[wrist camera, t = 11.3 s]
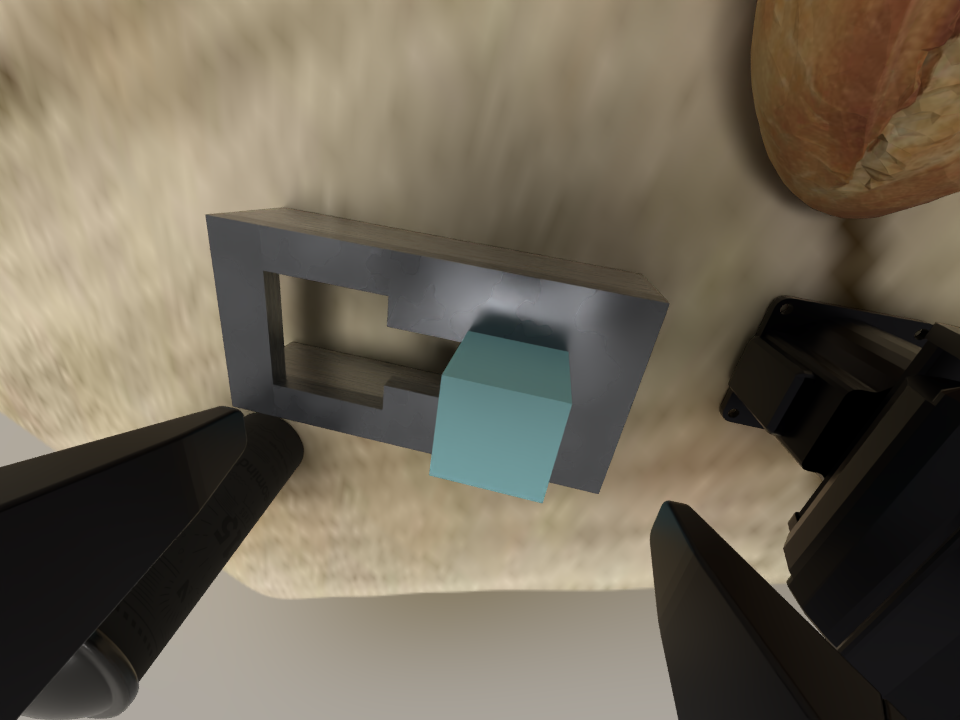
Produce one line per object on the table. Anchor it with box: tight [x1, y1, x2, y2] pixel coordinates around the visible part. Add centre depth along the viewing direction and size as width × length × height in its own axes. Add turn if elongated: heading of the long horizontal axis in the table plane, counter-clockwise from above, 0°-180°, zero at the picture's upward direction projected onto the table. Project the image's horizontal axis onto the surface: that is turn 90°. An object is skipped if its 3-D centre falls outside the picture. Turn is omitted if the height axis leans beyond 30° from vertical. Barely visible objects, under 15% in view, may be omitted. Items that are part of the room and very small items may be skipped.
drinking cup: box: [21, 413, 303, 720], centre depth 18 cm, size 8×8×20 cm
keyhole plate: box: [206, 207, 670, 494], centre depth 19 cm, size 18×9×5 cm, turn 81°
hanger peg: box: [429, 331, 572, 503], centre depth 16 cm, size 4×4×8 cm
